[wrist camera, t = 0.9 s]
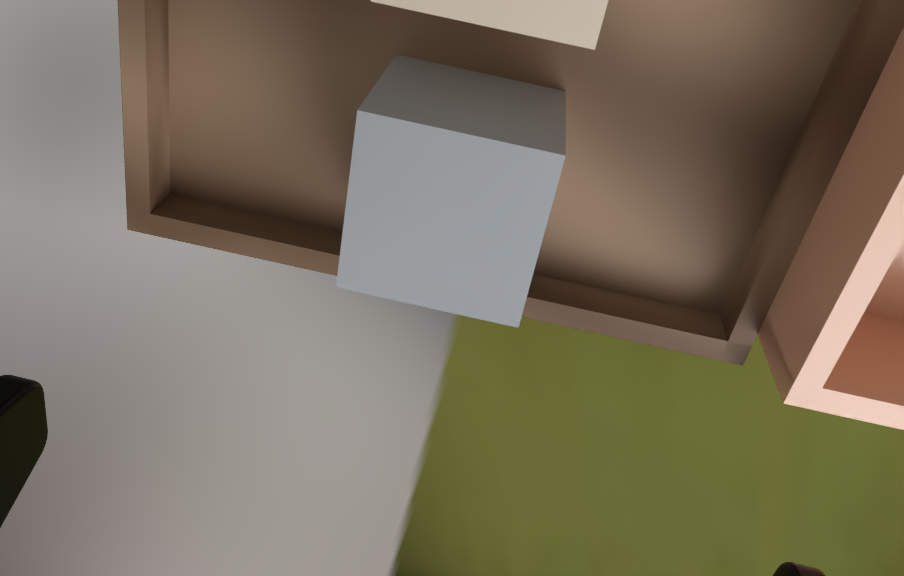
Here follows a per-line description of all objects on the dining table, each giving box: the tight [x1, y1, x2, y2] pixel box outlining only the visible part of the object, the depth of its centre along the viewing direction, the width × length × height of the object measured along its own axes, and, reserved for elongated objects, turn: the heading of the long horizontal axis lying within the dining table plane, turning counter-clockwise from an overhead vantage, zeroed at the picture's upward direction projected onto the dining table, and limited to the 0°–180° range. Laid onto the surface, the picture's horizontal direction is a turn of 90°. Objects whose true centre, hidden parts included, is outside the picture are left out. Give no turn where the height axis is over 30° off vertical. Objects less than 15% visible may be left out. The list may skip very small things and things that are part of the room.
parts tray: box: [118, 0, 904, 365], centre depth 18 cm, size 13×16×2 cm
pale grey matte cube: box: [336, 54, 566, 328], centre depth 18 cm, size 4×4×4 cm
